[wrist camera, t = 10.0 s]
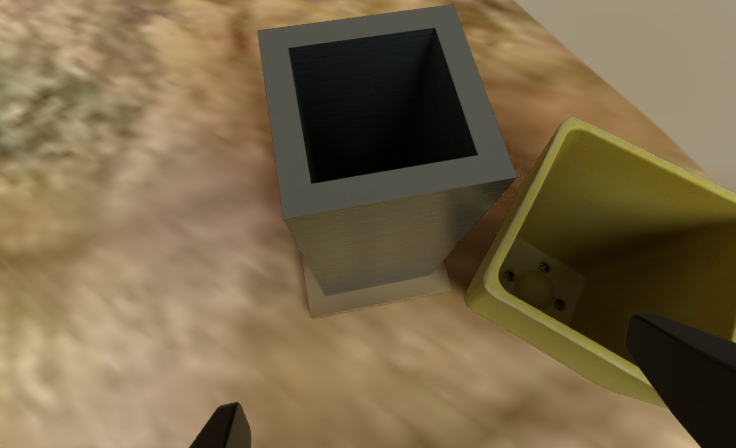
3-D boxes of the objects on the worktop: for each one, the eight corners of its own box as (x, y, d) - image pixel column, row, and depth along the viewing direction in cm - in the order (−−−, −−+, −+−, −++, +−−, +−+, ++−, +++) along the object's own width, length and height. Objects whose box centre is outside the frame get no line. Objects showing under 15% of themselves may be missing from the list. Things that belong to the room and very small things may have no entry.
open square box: (430, 275, 21) (516, 177, 10) (325, 296, 21) (283, 219, 9) (405, 181, 23) (453, 4, 12) (309, 198, 23) (257, 30, 11)
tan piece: (447, 291, 22) (471, 274, 17) (312, 319, 22) (299, 308, 17) (415, 171, 25) (428, 128, 20) (293, 192, 24) (278, 153, 19)
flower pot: (496, 195, 24) (569, 109, 16) (625, 264, 23) (781, 211, 15) (432, 313, 22) (478, 286, 13) (573, 400, 20) (726, 430, 12)
